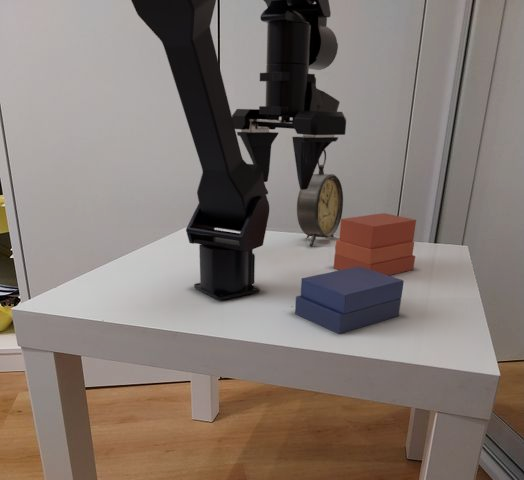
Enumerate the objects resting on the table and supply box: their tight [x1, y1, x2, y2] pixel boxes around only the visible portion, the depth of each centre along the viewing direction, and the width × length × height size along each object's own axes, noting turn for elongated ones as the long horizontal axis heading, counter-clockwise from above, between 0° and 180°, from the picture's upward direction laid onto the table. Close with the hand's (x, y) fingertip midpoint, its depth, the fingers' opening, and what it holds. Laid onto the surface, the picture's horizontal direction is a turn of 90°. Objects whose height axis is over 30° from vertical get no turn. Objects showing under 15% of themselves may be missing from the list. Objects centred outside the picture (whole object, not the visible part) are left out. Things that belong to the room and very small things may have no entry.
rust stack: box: [333, 239, 416, 276], centre depth 81 cm, size 10×8×4 cm
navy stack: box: [294, 266, 405, 335], centre depth 62 cm, size 10×8×4 cm
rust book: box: [338, 212, 417, 249], centre depth 79 cm, size 10×6×3 cm
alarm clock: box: [296, 148, 344, 248], centre depth 94 cm, size 11×5×16 cm, turn 148°
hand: (283, 185), depth 77 cm, fingers open, 9 cm apart
